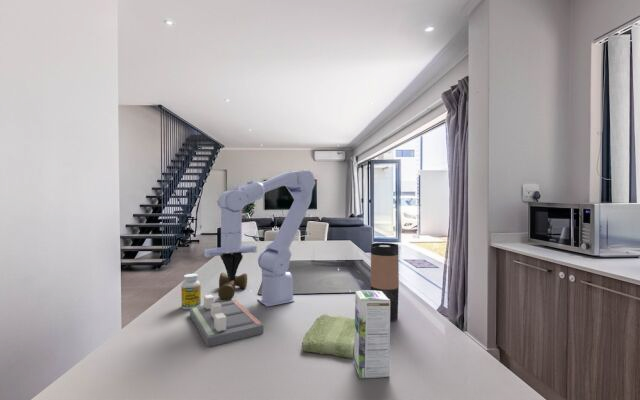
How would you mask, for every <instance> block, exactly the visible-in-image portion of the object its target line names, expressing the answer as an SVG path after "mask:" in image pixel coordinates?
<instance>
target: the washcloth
mask: <svg viewBox="0 0 640 400" xmlns="http://www.w3.org/2000/svg"><path fill="white" fill-rule="evenodd" d="M354 336H355V318H354V319H353V318H350V317H346V316H338V315H337V316H333V315H332V316H331V315H328V314H321V315H320V316H318V317H317V318H316V319H315V321H314V322H313V323H312V325H311V326H310V328H309V329H308V330H307V332H306V333H305V335H304V337H303V339H302V342H301V350H302V351H303V352H307V353H314V354H320V355H324V354H325V355H326V354H327V355H332V356H335V357H341V358H346V359H347V358H348V359H354Z"/></svg>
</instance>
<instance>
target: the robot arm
mask: <svg viewBox="0 0 640 400" xmlns="http://www.w3.org/2000/svg"><path fill="white" fill-rule="evenodd" d="M316 183H317V182H316V180H315V176H314V174H313V172H312V171H311V170H310V169H302V170H294V171H293V170H290V171H287V172H282V173H279V174H277V175H275V176H273V177H270V178H269V179H266V180H264V181H262V182H259V181H257V180H252V179H251V180H248V181H247V182H246V184H244V185H240V186H233V190H226V191H223V192H222V193H221V194H220V195H219V197H218V200H217V201H216V202H217V206H218V208H220V247H212V248H208V249H207V248H205V249H204V252H203V253H204V255H203V256H204V257H205V258H210V257H218V256H220V259H221V262H222V263H223V264H224V267H225V268H224V269H225V271H226V274H227V275H228V279H229V280H230V281H231V280H235V276H237V271H238V269H239V266H240V263H241V262H242V260H243V257H244V255H243V254H250V253H253V254H255V253H256V254H257V251H258V250H257V248H258V247H257V245H253V244H252V245H242V244H243V242H242V239H243V236H242V234H243V233H242V230H243V229H242V228H243V226H242V225H243V224H242V219H243V217H242V215H243V214H242V211H243V209H244V208H245V206H247V205H250V204H252V203H254V202H257V201H259V200H261V199H263V197H264V196H265V194H266V193H267V192H269V191H270V192H271V191H272V190H275V189H278V188H280V187H286V189H287V190H288V192H289V193H290V195H291V197H292V198H293V201H292V204H291V206H290V208H289V210H288V212H287V213H286V216H285V218H284V220H283V222H282V224H281V226H280V228H279V230H278V232H277V234H276V236H275V238H274V240H273V241H272V242H270V243H269V244H268V245H267V246H266V248H265V249H264V250H263V251H262V252H261V253H260V254H259V256H258V259H257V263H258V266H259V268H260V269H261V297H257V299H256V300H257V301H258V302H260V303H261V304H263V306H265V308H266V307H274V306H278V305H283V304H287V303H292V302H295V299H294V278H293V275H292V273H291V272H290V271H288V270H289V267H290V261H291V257H292V255H293V254H292V252H291V250H290V247H291V246H292V243H293V242H294V239H295V236H296V235H297V233H298V231H299V229H300V226H301V224H302V222H303V219H304V217H305V216H306V213H307V211H308V210H309V207H310V205H311V202H312V199H313V198H312V197H313V190H314V187H315V186H316Z"/></svg>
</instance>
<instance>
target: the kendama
mask: <svg viewBox="0 0 640 400" xmlns="http://www.w3.org/2000/svg"><path fill="white" fill-rule="evenodd" d="M247 285H248V274H247V273H246V272H245V273H242V274H240V275H236V276H235V280H231V281H230V280H229V279H228V275H227V273H225V272H220V274H219V278H218V288H219V289H218V291H217V293H218V295H217V296H218V297H219V299H220V300H222V301H231V300H232V299H233V297H234V295H235V292H236V291H237V290H236V289H237V288H236V287H239V288H241V289H243V290H246V288H247Z"/></svg>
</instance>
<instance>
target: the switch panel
mask: <svg viewBox="0 0 640 400" xmlns="http://www.w3.org/2000/svg"><path fill="white" fill-rule="evenodd" d="M219 303H220V304H221V306H222V313H223V314H224V315H225V316H226V330H222V331H218V332H217V330H216V329H215V327H214V319H213V318H212V316H211V309H206V308H205V307H204V304H203V305H200V306H198V307H192V308H190V309H189V316H190V318H191V319H192V322H193V323H194V325H195V327H196V329H197V330H198V332H199V334H200V336H201V338H202V340H203V341H204V343H205V345H206V347H207V348H211V347H213V346H219V345H221V344H225V343H230V342H234V341H238V340H243V339H246V338H249V337H250V338H251V337H253V336H258V335H262V334H264V324H263V323H262V322H261V321H260V320H259V319H257V318H256V317H255V316H254V315H253V314H252V313H251V312H250V311H248V310H247V308H245V306H243V305H242V304H241V303H240V302H239V300H237V299H233V300H232V299H231V300H225V301H221V302H219Z"/></svg>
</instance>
